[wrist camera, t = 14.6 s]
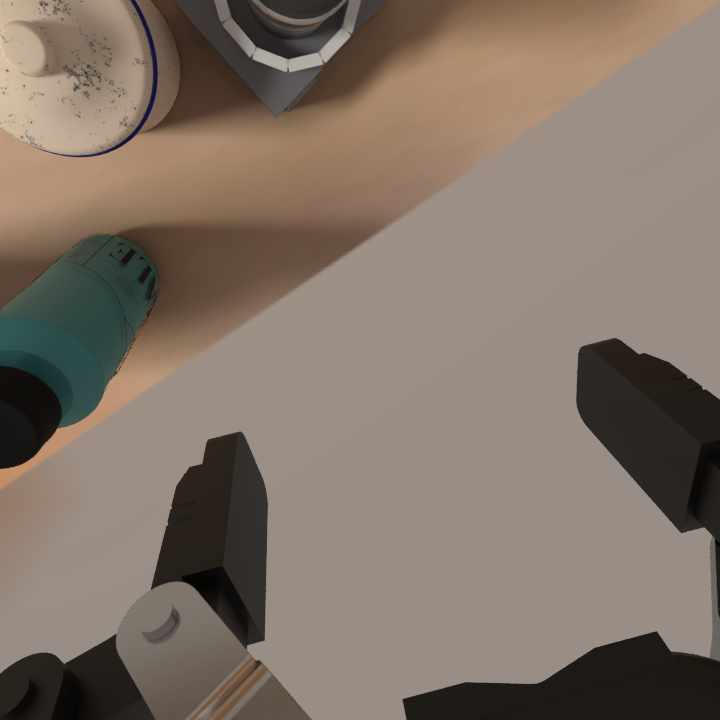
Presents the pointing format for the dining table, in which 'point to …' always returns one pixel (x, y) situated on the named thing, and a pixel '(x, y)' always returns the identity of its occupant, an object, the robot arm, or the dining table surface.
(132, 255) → the beverage bottle
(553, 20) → the dining table surface
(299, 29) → the lens
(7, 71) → the teacup with lid
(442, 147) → the dining table surface
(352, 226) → the dining table surface
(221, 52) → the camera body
